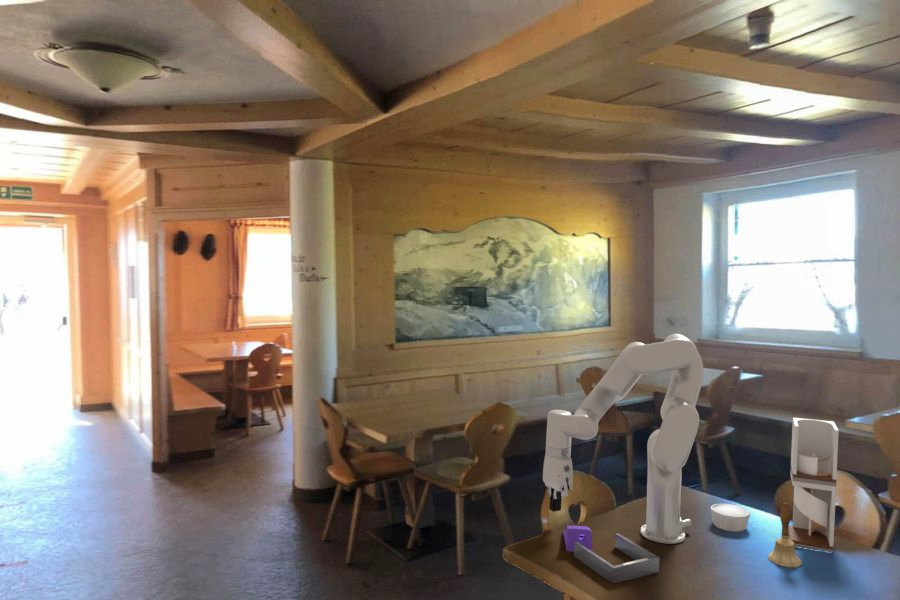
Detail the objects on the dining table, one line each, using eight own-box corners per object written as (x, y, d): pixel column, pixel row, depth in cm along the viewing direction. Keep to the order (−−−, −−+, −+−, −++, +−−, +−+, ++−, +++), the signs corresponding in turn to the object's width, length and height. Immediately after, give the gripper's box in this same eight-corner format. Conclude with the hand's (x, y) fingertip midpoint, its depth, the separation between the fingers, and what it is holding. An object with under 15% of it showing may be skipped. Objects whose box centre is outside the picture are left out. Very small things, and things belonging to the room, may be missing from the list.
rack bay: (617, 546, 183) (618, 532, 183) (658, 572, 168) (659, 557, 168) (574, 556, 177) (574, 541, 177) (612, 583, 162) (613, 567, 162)
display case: (788, 531, 195) (792, 417, 193) (828, 538, 190) (833, 421, 188) (790, 546, 184) (795, 426, 182) (833, 554, 180) (838, 430, 178)
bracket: (591, 553, 180) (592, 529, 179) (566, 552, 180) (567, 528, 180) (586, 535, 191) (587, 513, 191) (563, 534, 192) (563, 512, 192)
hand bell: (769, 564, 173) (771, 506, 173) (766, 551, 181) (768, 496, 180) (803, 570, 170) (806, 511, 169) (799, 556, 178) (801, 500, 177)
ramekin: (714, 516, 207) (715, 500, 206) (752, 525, 200) (753, 508, 200) (705, 527, 197) (706, 510, 197) (745, 537, 191) (745, 519, 191)
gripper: (583, 457, 191) (579, 517, 192) (554, 443, 204) (551, 499, 205) (562, 459, 188) (558, 521, 189) (534, 445, 201) (531, 502, 202)
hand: (555, 509), depth 197 cm, fingers closed
